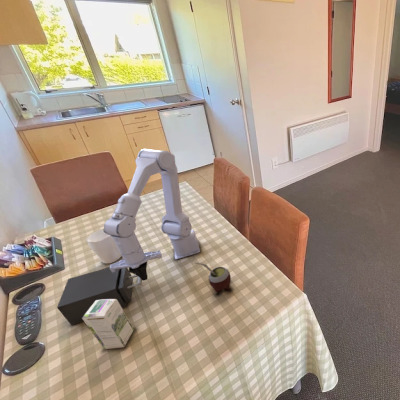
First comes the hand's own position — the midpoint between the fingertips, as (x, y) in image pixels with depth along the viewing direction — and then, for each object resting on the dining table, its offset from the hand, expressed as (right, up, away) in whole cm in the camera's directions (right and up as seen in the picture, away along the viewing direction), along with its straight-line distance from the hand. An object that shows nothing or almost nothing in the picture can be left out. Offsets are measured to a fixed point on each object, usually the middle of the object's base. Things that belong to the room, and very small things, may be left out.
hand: (145, 278), depth 94 cm
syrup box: (+3, -14, -15) cm, 21 cm away
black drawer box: (-12, -7, -3) cm, 15 cm away
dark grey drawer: (-9, -5, -2) cm, 10 cm away
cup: (-23, +4, +15) cm, 28 cm away
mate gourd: (+27, -4, 0) cm, 27 cm away
